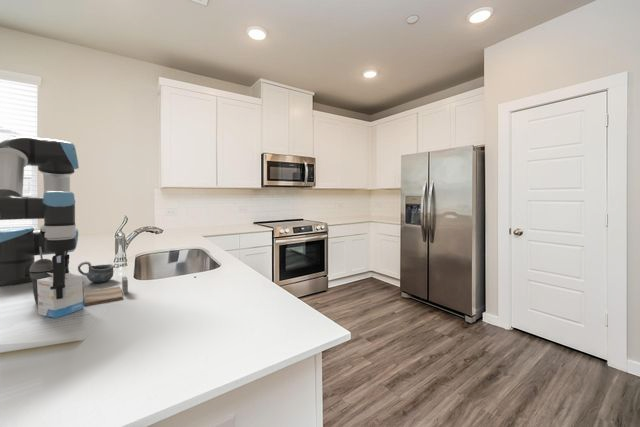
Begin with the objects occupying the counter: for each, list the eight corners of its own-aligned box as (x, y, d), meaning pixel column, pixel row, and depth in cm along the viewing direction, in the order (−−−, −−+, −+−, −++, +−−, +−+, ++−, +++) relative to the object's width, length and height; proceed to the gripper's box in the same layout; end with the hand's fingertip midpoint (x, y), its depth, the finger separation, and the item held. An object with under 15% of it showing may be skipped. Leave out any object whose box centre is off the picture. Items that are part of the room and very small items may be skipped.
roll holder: (79, 294, 107) (78, 279, 107) (125, 287, 116) (125, 273, 116) (77, 307, 96) (76, 290, 95) (128, 298, 105) (128, 282, 105)
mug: (118, 281, 125) (117, 259, 125) (83, 288, 115) (83, 264, 114) (109, 277, 130) (108, 256, 130) (75, 284, 120) (74, 261, 119)
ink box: (84, 309, 94) (83, 270, 93) (54, 319, 86) (52, 276, 85) (68, 305, 97) (67, 267, 96) (37, 314, 89) (35, 273, 88)
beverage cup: (40, 306, 95) (38, 249, 94) (24, 304, 97) (22, 248, 96) (63, 299, 102) (62, 245, 101) (48, 297, 104) (46, 244, 103)
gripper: (49, 234, 98) (51, 293, 99) (38, 244, 79) (40, 317, 80) (77, 233, 103) (79, 289, 104) (73, 242, 84) (74, 311, 85)
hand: (62, 302), depth 92 cm, fingers open, 12 cm apart
